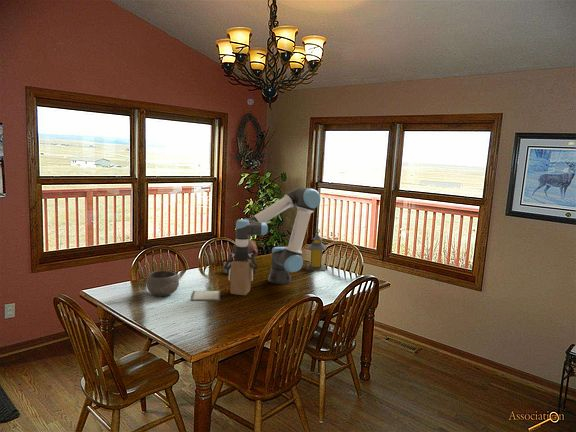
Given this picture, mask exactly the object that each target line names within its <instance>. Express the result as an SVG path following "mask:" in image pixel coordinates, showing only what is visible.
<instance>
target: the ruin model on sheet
mask: <svg viewBox="0 0 576 432" xmlns="http://www.w3.org/2000/svg"><path fill="white" fill-rule="evenodd" d="M226 262H227V261H224V262H223V263H222V265H223V266H222V273H223V274H227V269H224V266H225V264H226ZM230 264H231V261H230V262H229V264H228V266H229V265H230ZM228 266H227V267H228ZM230 275H231V268H230Z"/></svg>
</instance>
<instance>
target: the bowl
mask: <svg viewBox="0 0 576 432" xmlns="http://www.w3.org/2000/svg"><path fill="white" fill-rule="evenodd" d="M179 285H180V282H179V277H178V274H177V273H176V272H175V271H172V270H162V269H161V270H156V271H152V272H150V273H149V274H148V276H147V278H146V288H147V290H148V291H149V293H151V294H152V295H153V296H156V297H166V296H170V295H171V294H173V293H174V292H176V290H177V289H178V288H179Z"/></svg>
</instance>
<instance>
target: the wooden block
mask: <svg viewBox="0 0 576 432" xmlns="http://www.w3.org/2000/svg"><path fill="white" fill-rule="evenodd" d="M248 260H249V259H248ZM249 262H250V263H251V264H252V260H249V261H238V260H237V261H234V259H233V260H232V261H230V263H231V274H230V286H229V287H230V295H236V296H237V295H238V296H247V294H249V292H250V291H251V282H252V281H251V272H252V268H251V266H250V263H249Z"/></svg>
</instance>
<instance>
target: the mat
mask: <svg viewBox="0 0 576 432" xmlns="http://www.w3.org/2000/svg"><path fill="white" fill-rule="evenodd" d="M190 300H191V302H208V301H209V302H221V290H193V291H192V296H191V299H190Z"/></svg>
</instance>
